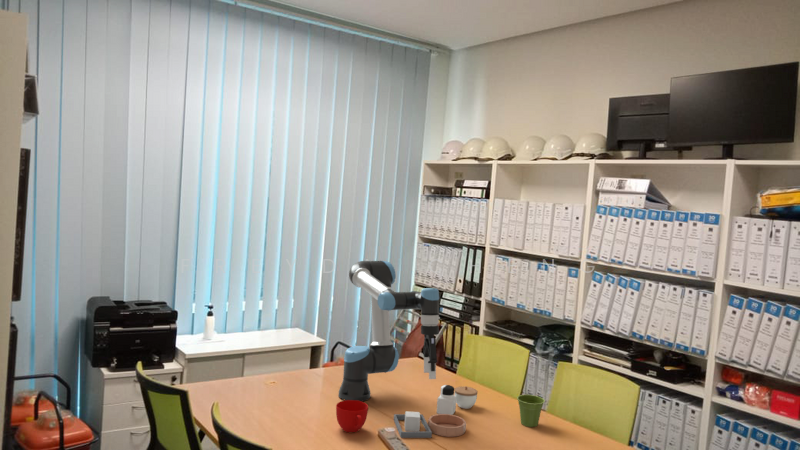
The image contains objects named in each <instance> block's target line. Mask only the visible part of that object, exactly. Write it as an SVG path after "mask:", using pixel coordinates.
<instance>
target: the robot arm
mask: <svg viewBox="0 0 800 450" xmlns="http://www.w3.org/2000/svg"><path fill="white" fill-rule="evenodd" d="M348 278H349V280H350V282H351V284H353V285H354V286H355V287H357V288H361V289H362V290H363V291H365V292H366V293H367V294H369V295H370V298H371V299H370V300H371V303H370V304H371V306H370V307H371V329H372V330H371V332H372V334H371V336H372V340H371V342H370V344H369V346H367V345H353V346H351V347H348V348H347V349H346V350H345V351H344V352H345V353H344V356H343V357H344V358H343V374H342V375H343V376H342V383H341V385H340V387H339V390H338V398H339V397H340V398H339V399H341V398H342V399H341V400H343V399H345V400H356V401H362V402H365V400H366V401H368V400H370V399H369V398H371V389H370V385H369V381H368V379H369V378H368V377H369V375H372V374H373V375H374V374H380V373H381V374H382V373H383V374H384V373H385V374H386V373H390V372H394V371H395V370H396V369H397V367H398V364H399V360H400V355H399V352H398V351H399V350H398V349H397V348H396V347H394V343H393V342H392V341H391V329H390V327H391V326H390V311H398V310H399V311H401V310H402V311H403V310H420V313H421V314H420V324H421V326H420V333H421V335H424V337H423V338H424V340H423V350H422V351H423V352H422V355H423V373H424V374H426V373H428V380H436V379H437V362H438V356H437V346H436V345H437V344H436V338H435V337H434V336H437V335H439V332H440V329H439V328H440V326H439V323H440V322H439V321H440V319H441V317H440V312H439V311H440V292H439V289H438V288H436V287H435V288H432V287H426V288H425V287H424V288H422V289H421V291H417V290H415V291H414V290H413V291H395V290H393V289H391V288H392V285H393V284H394V283H395V281H396V279H397V278H396V269H395V267H394V266H393V264H392V263H391V262H389V261H387V260H386V261H385V260H360V261H357V262H355V263H354V264H353V265H352V266H351V267H350V269H349V272H348ZM345 400H344V401H345Z"/></svg>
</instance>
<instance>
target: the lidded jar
mask: <svg viewBox="0 0 800 450" xmlns="http://www.w3.org/2000/svg"><path fill="white" fill-rule="evenodd" d="M454 396H456V405H457V406H458V407H459V408H460V409H466V410H467V409H468V410H469V409H471V408H472V407H473V406H475V404H476V402H477V398H478V390H477V389H476V388H473V387H471V386H457V387H454Z"/></svg>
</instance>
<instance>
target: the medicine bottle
mask: <svg viewBox="0 0 800 450" xmlns="http://www.w3.org/2000/svg"><path fill="white" fill-rule="evenodd" d="M436 400H437V402H436V414H450V415H455V412H456V410H457V409H456V407H457V403H456V396H455V387H454V386H453V385H450V384H444V385H442V386H440V395H439V396H438V397H437V399H436Z"/></svg>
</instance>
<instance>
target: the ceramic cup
mask: <svg viewBox="0 0 800 450" xmlns="http://www.w3.org/2000/svg"><path fill="white" fill-rule="evenodd" d="M335 410H336V411H335V413H336V420H337V423H338V425H339V427H340V428H341V430H342V431H343V430H344V431H343V432H345V431H346V432H345V433H348V432H355V433H357V431H358V432H359V431H360V430H361V429H362V428H363V427H364V425H365V422H366V420H367V417H368V413H369V411H368V410H369V405H368V404H367V403H366V402H365V401H356V400H341V401H339V402H337V403H336V405H335Z"/></svg>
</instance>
